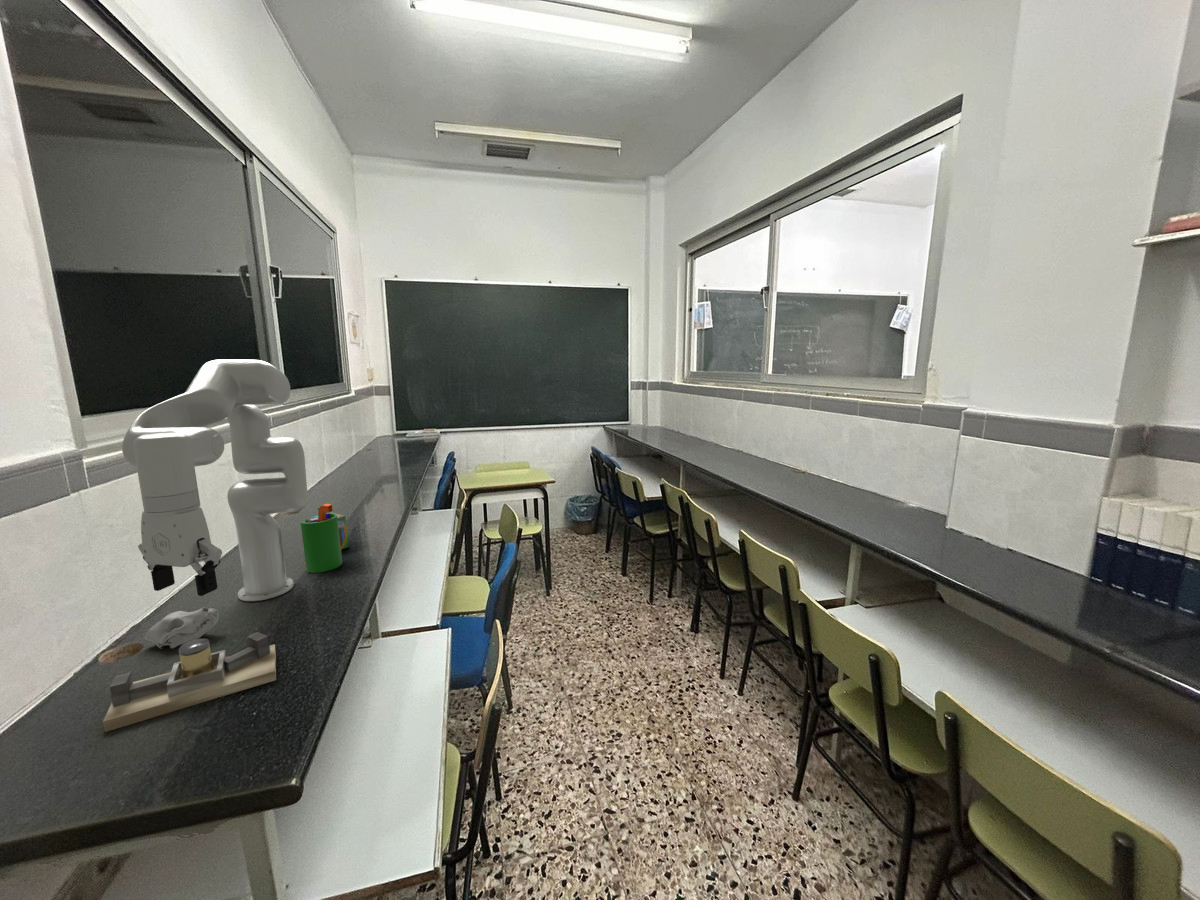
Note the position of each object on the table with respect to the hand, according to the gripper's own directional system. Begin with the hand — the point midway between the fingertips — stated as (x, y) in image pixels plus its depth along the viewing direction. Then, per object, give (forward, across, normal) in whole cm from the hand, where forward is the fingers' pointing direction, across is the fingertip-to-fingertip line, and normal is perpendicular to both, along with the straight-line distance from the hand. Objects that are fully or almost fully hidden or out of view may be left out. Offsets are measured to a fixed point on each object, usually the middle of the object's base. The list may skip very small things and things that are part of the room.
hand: (186, 589), depth 87 cm
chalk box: (+21, -28, +66) cm, 74 cm away
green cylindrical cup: (+21, -18, +54) cm, 60 cm away
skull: (+21, -19, +12) cm, 30 cm away
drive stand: (+20, 0, 0) cm, 20 cm away
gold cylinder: (+18, 0, 0) cm, 18 cm away
